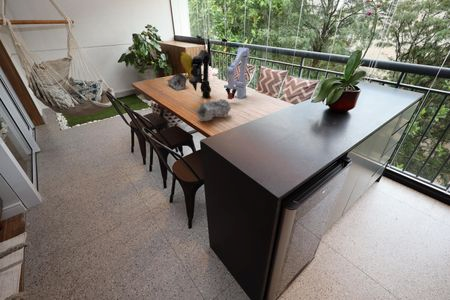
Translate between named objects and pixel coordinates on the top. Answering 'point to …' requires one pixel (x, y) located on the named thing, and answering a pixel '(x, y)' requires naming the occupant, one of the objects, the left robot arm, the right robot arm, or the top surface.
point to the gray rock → (177, 81)
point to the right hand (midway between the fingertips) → (231, 96)
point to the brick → (230, 96)
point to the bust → (213, 110)
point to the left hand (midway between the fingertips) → (199, 91)
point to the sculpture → (187, 63)
